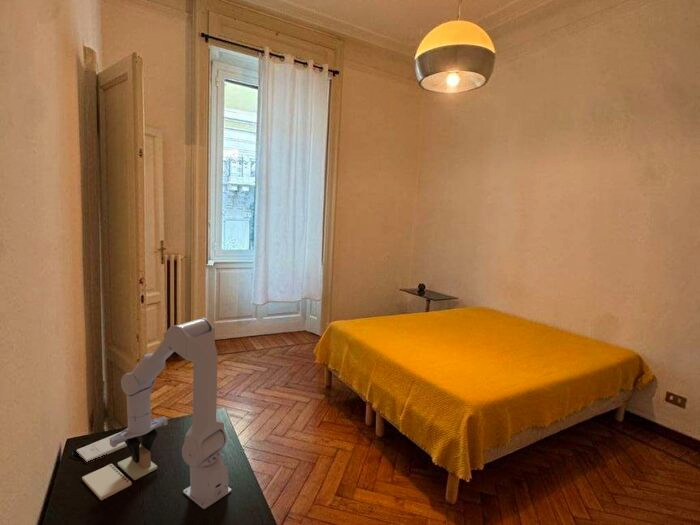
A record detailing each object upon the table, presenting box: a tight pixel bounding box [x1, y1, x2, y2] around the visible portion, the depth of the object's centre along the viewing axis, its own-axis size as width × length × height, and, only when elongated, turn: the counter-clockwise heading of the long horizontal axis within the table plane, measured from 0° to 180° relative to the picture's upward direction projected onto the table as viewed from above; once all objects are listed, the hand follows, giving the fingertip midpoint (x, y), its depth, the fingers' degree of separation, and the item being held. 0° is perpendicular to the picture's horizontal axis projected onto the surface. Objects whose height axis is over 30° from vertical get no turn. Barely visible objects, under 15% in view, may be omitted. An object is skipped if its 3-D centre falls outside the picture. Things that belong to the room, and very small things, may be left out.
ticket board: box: [81, 463, 132, 501], centre depth 98 cm, size 12×7×1 cm, turn 54°
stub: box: [117, 443, 158, 481], centre depth 104 cm, size 10×6×5 cm, turn 54°
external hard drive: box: [75, 431, 128, 463], centre depth 113 cm, size 2×8×12 cm
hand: (141, 458), depth 105 cm, fingers closed on stub, 2 cm apart
